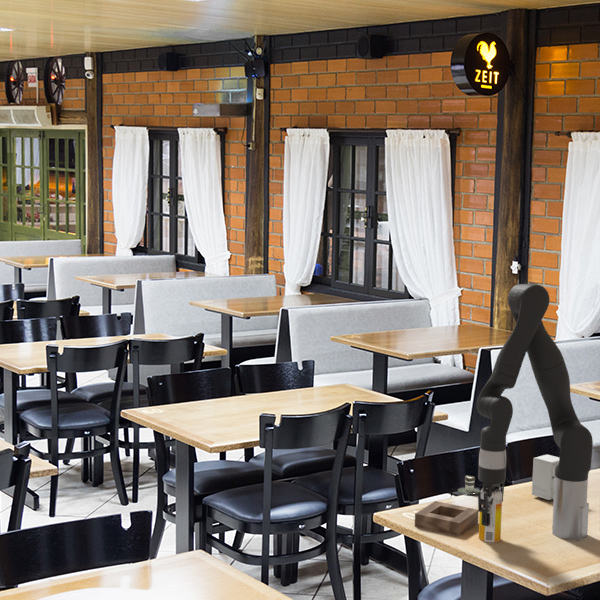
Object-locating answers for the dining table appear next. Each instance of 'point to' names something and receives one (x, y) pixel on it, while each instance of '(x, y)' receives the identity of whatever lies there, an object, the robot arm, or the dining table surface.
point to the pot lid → (469, 486)
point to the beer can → (492, 520)
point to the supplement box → (544, 476)
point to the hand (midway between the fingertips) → (490, 521)
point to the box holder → (446, 518)
